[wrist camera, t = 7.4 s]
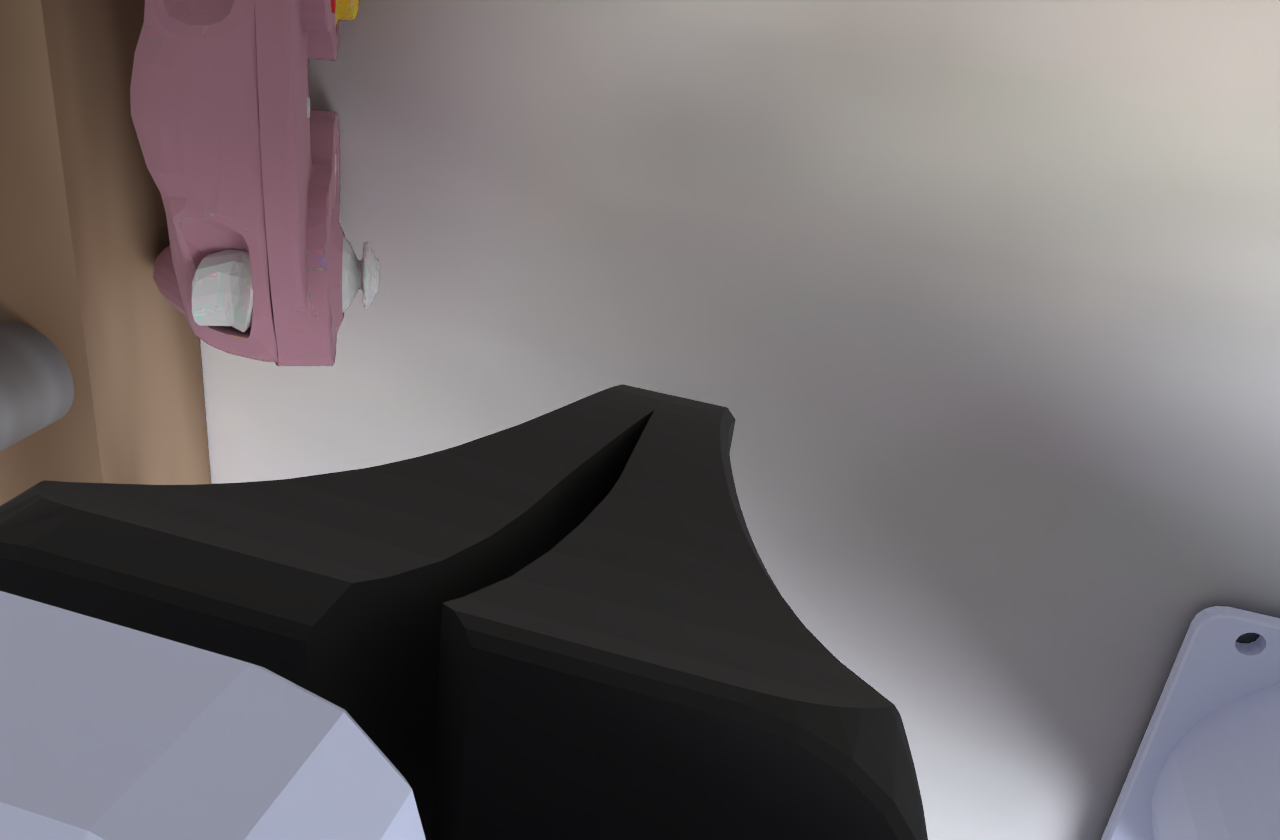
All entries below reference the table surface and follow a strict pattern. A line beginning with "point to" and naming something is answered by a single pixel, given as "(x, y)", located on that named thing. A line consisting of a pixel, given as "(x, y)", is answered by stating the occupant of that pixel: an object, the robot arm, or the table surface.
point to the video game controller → (248, 174)
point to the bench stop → (86, 265)
